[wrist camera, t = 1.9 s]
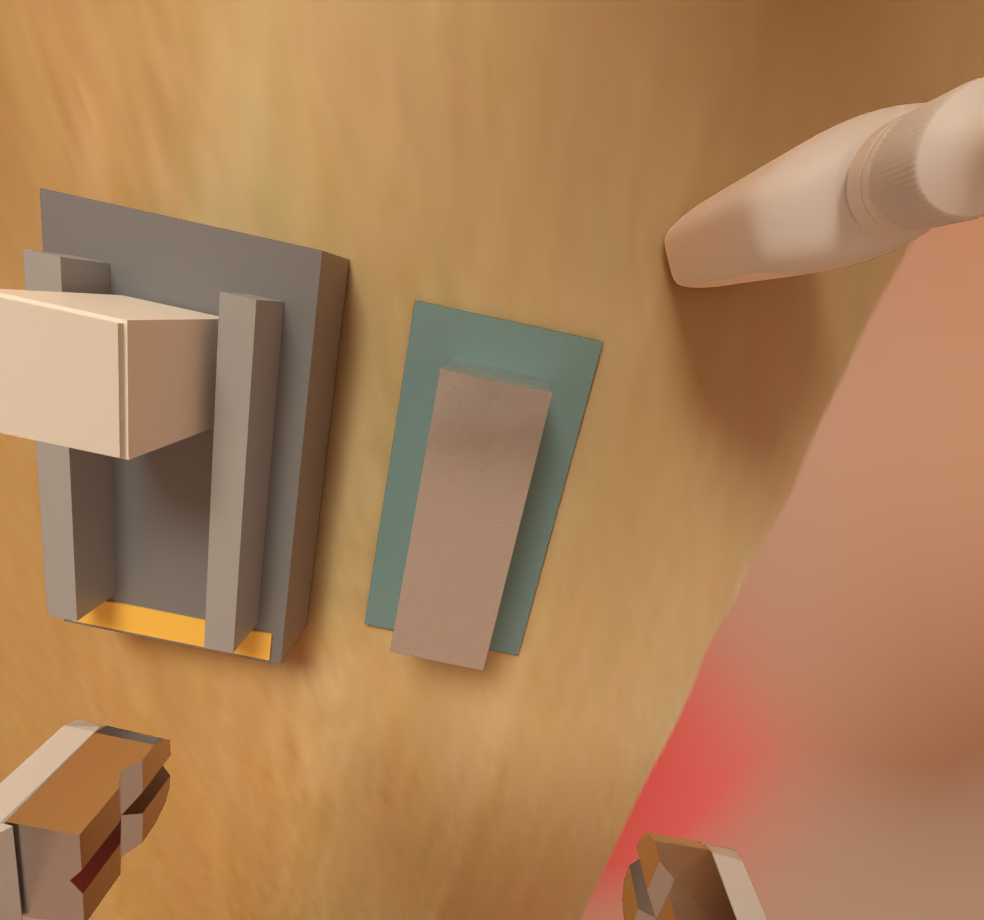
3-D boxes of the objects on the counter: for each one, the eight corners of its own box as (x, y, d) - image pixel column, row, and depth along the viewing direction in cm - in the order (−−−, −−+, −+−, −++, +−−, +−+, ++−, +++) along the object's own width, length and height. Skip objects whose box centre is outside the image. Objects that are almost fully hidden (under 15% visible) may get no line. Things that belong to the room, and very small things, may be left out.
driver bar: (453, 358, 21) (440, 368, 17) (545, 378, 21) (552, 393, 17) (409, 598, 24) (389, 651, 20) (487, 614, 24) (483, 670, 20)
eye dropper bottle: (785, 305, 20) (1157, 291, 8) (650, 282, 20) (840, 238, 8) (822, 187, 19) (1320, -18, 7) (678, 162, 19) (948, -81, 7)
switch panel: (108, 206, 20) (-21, 171, 15) (349, 259, 20) (298, 242, 15) (115, 585, 25) (21, 650, 20) (306, 624, 25) (258, 697, 20)
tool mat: (416, 300, 20) (415, 300, 20) (601, 341, 21) (602, 342, 20) (366, 620, 25) (364, 623, 25) (517, 651, 25) (517, 655, 25)
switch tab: (121, 295, 18) (-31, 287, 13) (230, 318, 18) (121, 320, 13) (123, 401, 19) (-17, 432, 14) (225, 423, 19) (123, 461, 14)
